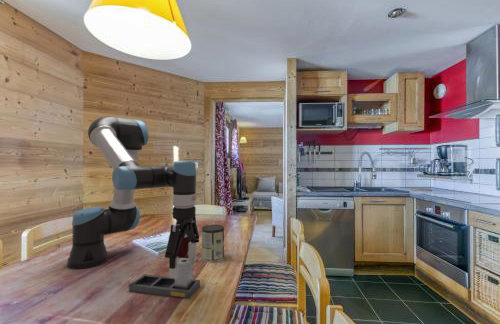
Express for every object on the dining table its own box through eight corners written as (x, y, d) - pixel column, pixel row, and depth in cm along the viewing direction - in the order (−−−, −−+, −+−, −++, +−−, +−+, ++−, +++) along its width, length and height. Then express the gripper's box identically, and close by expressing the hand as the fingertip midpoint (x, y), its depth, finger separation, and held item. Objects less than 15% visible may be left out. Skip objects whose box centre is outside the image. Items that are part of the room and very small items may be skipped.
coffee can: (209, 252, 123) (210, 223, 123) (228, 256, 118) (228, 226, 118) (196, 260, 113) (197, 228, 113) (216, 264, 109) (216, 231, 109)
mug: (179, 263, 110) (179, 240, 110) (164, 260, 113) (165, 238, 113) (194, 255, 119) (194, 234, 119) (180, 252, 123) (180, 232, 123)
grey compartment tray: (128, 292, 85) (128, 285, 85) (144, 281, 93) (144, 274, 93) (189, 300, 80) (189, 292, 80) (200, 287, 89) (200, 280, 89)
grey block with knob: (174, 292, 84) (174, 262, 84) (181, 286, 88) (181, 257, 88) (187, 294, 83) (187, 263, 83) (193, 287, 87) (193, 258, 87)
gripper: (176, 214, 72) (175, 287, 73) (208, 200, 97) (207, 255, 97) (153, 213, 74) (152, 284, 74) (190, 200, 98) (189, 254, 99)
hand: (183, 268), depth 86 cm, fingers open, 13 cm apart
